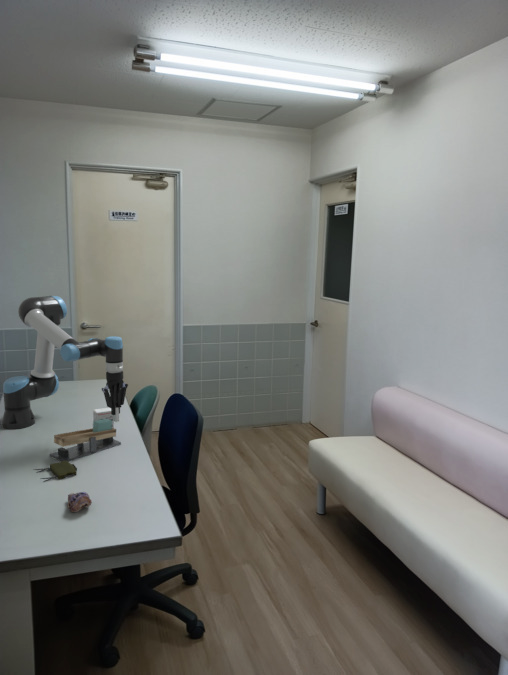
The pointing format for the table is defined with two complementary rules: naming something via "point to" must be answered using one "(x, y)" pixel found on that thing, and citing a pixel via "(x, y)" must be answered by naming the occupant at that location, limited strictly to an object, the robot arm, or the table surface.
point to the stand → (84, 449)
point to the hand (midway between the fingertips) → (115, 420)
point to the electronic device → (60, 470)
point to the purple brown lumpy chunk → (78, 501)
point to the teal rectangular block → (102, 425)
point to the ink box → (103, 415)
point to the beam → (82, 436)
